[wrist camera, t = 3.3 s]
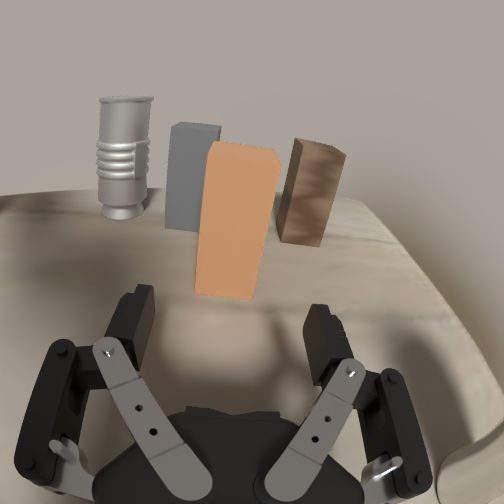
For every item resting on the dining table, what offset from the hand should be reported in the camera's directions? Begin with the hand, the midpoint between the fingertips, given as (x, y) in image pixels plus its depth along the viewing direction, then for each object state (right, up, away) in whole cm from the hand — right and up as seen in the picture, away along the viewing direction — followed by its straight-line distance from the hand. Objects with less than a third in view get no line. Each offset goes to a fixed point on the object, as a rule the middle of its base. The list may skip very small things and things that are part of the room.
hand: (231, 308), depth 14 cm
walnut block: (+7, +5, +23) cm, 25 cm away
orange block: (-2, 0, +13) cm, 13 cm away
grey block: (-7, +7, +21) cm, 23 cm away
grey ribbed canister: (-16, +8, +21) cm, 28 cm away
